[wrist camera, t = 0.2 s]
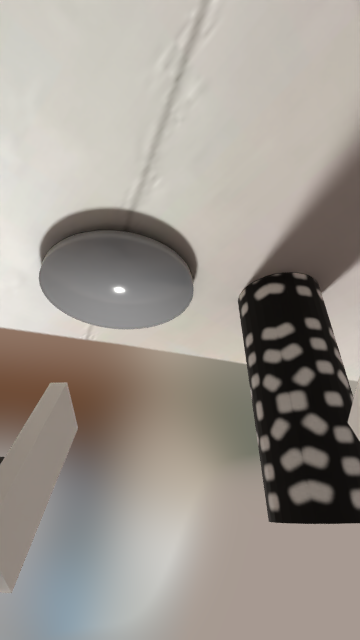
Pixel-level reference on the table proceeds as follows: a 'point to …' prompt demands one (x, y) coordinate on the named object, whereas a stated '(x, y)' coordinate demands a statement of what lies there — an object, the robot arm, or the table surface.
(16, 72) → the table surface
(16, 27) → the table surface
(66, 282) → the dish
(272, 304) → the white-spotted black cylinder
